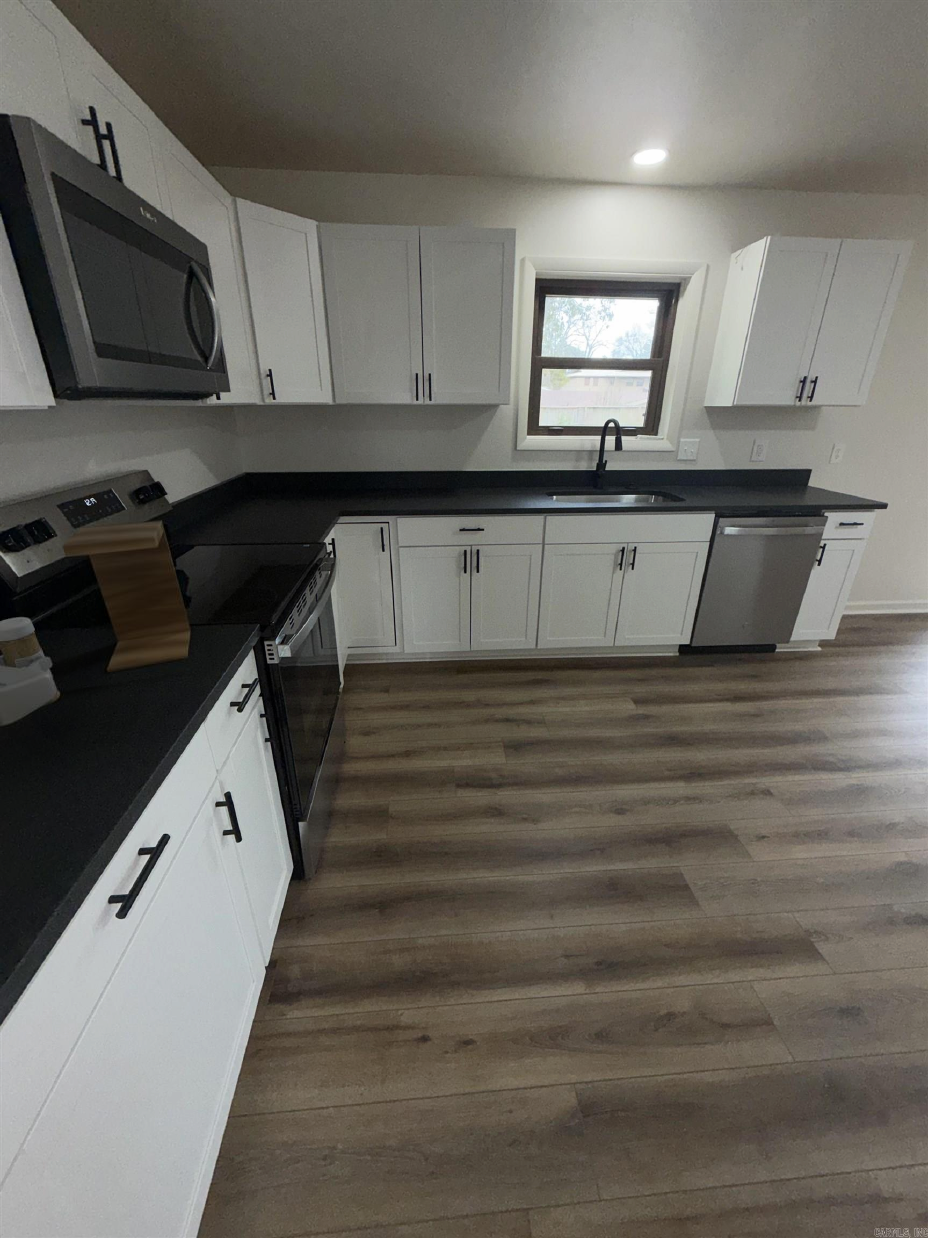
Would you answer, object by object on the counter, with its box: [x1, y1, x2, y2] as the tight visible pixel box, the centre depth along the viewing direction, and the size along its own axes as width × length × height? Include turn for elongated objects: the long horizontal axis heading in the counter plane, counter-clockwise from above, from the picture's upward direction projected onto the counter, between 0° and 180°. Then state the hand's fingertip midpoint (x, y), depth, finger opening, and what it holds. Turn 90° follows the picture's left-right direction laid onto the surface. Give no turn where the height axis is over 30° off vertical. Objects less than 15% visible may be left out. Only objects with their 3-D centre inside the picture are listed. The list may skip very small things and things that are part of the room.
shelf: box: [62, 519, 192, 673], centre depth 100 cm, size 14×14×27 cm
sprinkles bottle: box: [0, 616, 61, 707], centre depth 74 cm, size 5×5×13 cm
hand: (32, 658), depth 75 cm, fingers closed on sprinkles bottle, 4 cm apart
